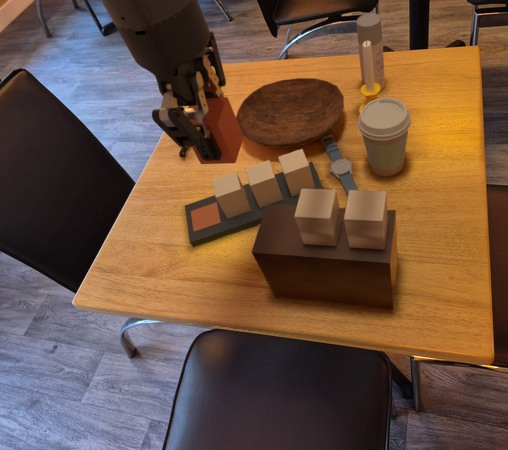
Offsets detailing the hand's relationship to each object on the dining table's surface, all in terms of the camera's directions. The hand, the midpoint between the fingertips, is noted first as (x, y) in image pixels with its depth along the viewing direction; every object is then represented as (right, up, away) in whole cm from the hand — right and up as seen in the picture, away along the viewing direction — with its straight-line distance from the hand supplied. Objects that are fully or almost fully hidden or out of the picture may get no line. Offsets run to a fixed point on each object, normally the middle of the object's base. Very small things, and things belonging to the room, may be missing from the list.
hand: (218, 142), depth 51 cm
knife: (-13, +9, +44) cm, 47 cm away
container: (+25, +19, +42) cm, 53 cm away
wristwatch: (+17, 0, +29) cm, 34 cm away
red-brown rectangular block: (0, -1, +1) cm, 1 cm away
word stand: (+15, -18, +16) cm, 29 cm away
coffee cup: (+25, +1, +28) cm, 38 cm away
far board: (+1, -6, +28) cm, 29 cm away
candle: (+24, +13, +37) cm, 46 cm away
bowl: (+8, +10, +39) cm, 41 cm away
